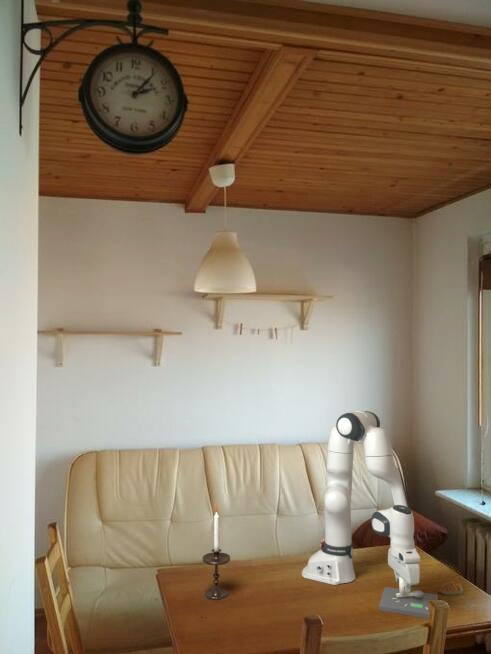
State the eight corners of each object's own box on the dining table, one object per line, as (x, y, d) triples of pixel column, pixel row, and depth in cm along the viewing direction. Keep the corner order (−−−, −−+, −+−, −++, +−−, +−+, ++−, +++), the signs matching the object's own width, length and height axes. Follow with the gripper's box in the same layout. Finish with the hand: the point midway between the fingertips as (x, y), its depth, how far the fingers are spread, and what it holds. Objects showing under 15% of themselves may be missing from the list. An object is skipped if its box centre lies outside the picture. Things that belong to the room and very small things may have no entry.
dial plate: (378, 610, 200) (378, 605, 200) (384, 590, 217) (384, 586, 217) (436, 619, 193) (436, 614, 193) (437, 598, 210) (437, 594, 210)
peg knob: (420, 594, 210) (419, 574, 210) (424, 598, 206) (424, 578, 207) (394, 595, 208) (394, 576, 209) (399, 599, 205) (398, 579, 205)
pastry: (445, 597, 211) (445, 587, 212) (434, 591, 218) (433, 581, 218) (464, 594, 215) (464, 584, 215) (452, 587, 221) (452, 577, 221)
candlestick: (196, 595, 213) (197, 504, 215) (216, 586, 221) (216, 498, 223) (215, 603, 205) (216, 509, 207) (235, 594, 213) (236, 503, 215)
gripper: (383, 541, 218) (384, 576, 217) (406, 560, 197) (406, 599, 197) (398, 540, 219) (399, 575, 218) (422, 559, 198) (423, 598, 198)
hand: (402, 587), depth 207 cm, fingers open, 6 cm apart
